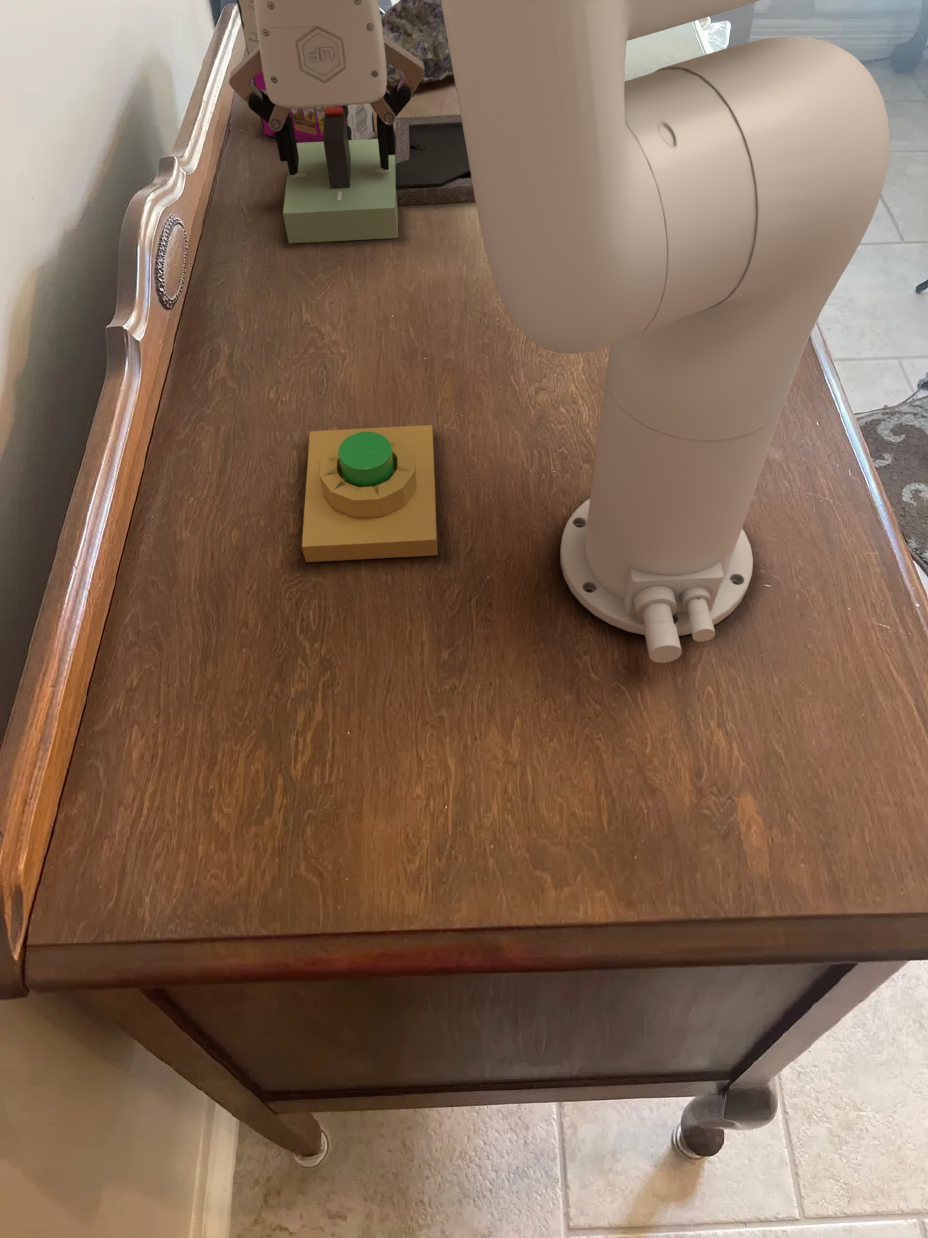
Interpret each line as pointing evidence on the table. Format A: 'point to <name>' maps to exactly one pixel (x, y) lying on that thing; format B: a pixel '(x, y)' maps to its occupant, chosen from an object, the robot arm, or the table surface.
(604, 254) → the robot arm
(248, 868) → the table surface
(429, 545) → the switch block
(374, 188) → the dimmer panel
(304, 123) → the candy bar box
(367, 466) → the button
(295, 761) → the table surface
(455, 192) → the picture frame
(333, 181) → the dimmer knob
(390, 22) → the mineral rock
